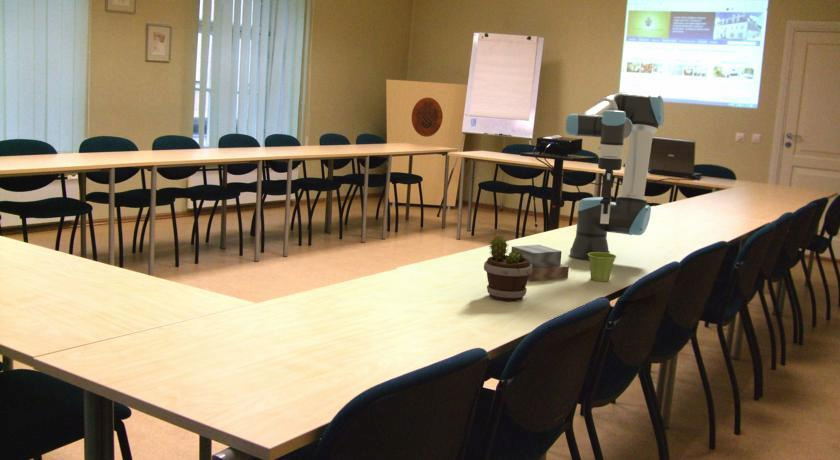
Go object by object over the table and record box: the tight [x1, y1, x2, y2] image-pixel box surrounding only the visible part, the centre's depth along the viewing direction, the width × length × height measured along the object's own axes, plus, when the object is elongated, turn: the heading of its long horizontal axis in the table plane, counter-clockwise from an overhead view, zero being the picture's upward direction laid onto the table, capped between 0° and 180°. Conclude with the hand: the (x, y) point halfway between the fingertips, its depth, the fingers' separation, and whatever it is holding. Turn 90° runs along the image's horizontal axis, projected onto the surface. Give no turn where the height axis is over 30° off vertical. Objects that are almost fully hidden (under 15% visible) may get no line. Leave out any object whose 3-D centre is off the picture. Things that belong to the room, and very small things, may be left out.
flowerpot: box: [483, 231, 533, 302], centre depth 246 cm, size 14×15×20 cm
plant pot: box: [588, 252, 617, 283], centre depth 278 cm, size 9×9×9 cm
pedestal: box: [511, 244, 570, 282], centre depth 281 cm, size 16×16×9 cm
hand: (604, 220), depth 275 cm, fingers open, 13 cm apart
